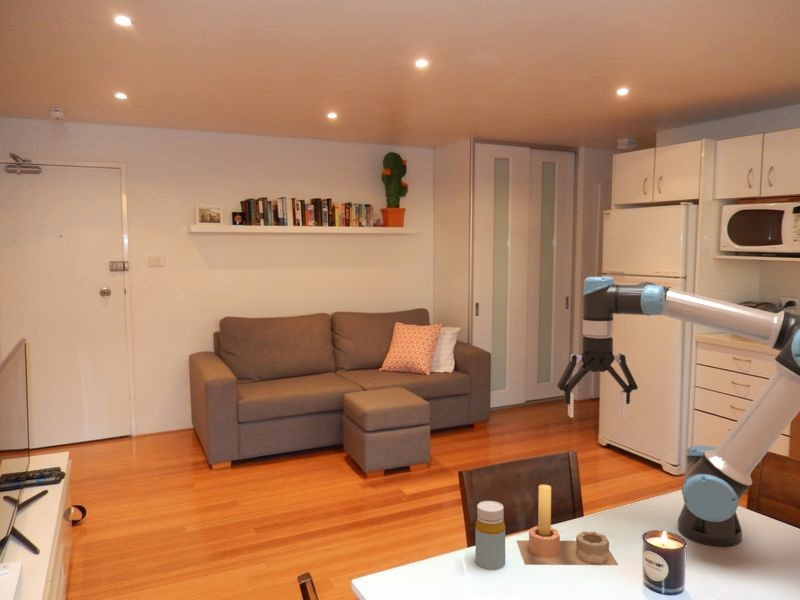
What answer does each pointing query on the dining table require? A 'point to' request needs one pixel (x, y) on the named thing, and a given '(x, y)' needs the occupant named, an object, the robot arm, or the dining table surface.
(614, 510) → the dining table surface
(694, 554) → the dining table surface
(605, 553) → the bead beech
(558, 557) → the lacing board
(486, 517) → the bottle
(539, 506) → the dowel
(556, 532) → the bead rust
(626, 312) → the robot arm
